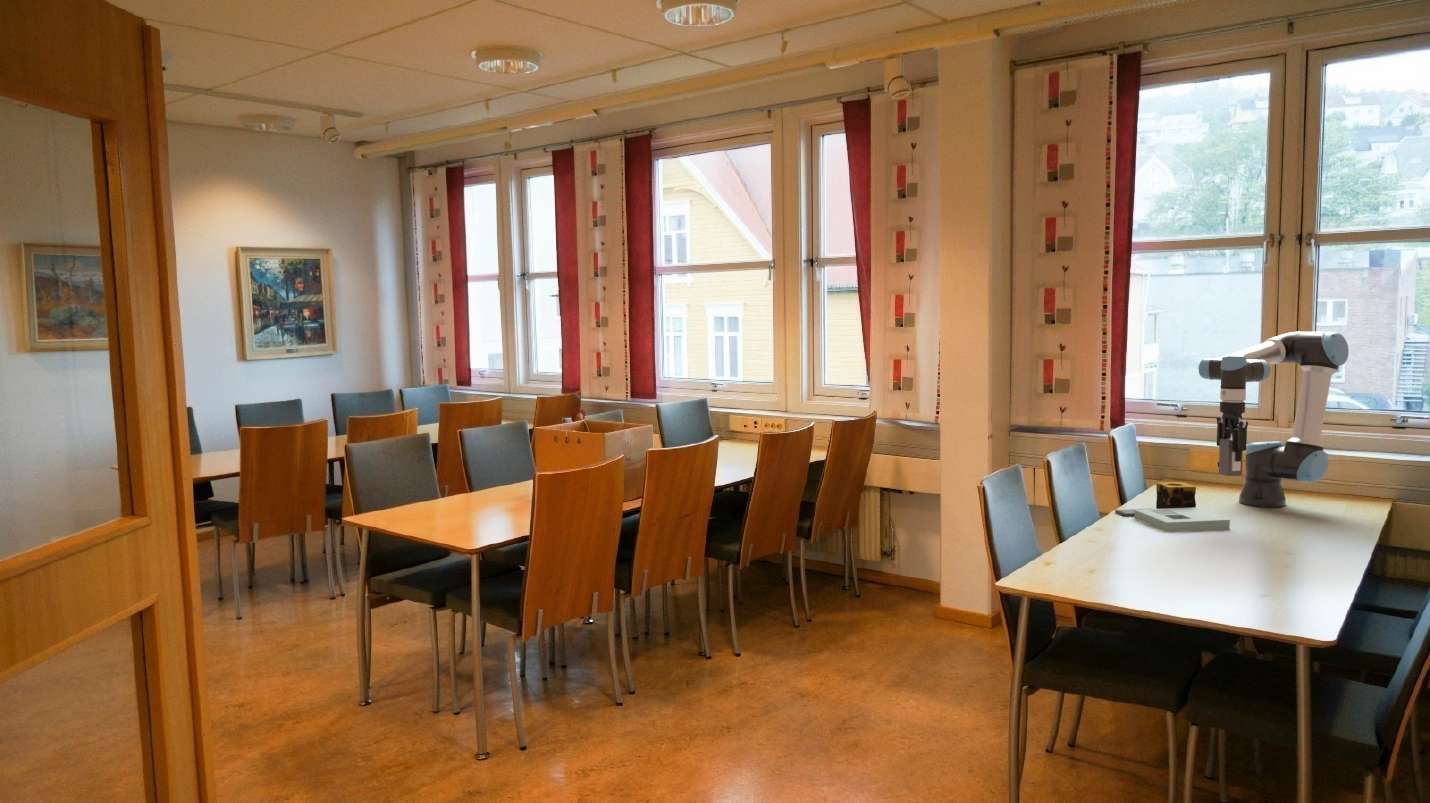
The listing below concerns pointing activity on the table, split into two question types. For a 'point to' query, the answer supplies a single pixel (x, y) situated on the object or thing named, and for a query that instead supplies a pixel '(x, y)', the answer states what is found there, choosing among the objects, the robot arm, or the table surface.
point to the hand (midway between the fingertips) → (1230, 469)
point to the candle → (1175, 495)
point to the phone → (1127, 512)
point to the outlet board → (1182, 519)
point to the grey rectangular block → (1227, 458)
